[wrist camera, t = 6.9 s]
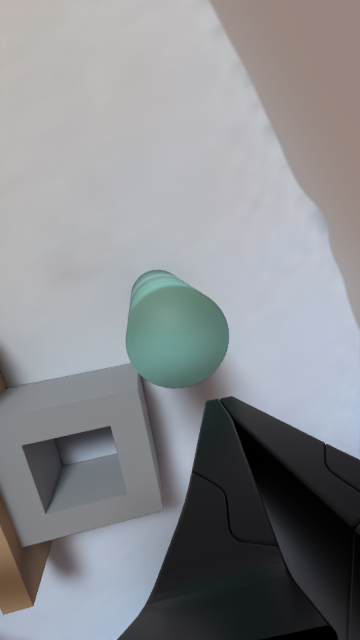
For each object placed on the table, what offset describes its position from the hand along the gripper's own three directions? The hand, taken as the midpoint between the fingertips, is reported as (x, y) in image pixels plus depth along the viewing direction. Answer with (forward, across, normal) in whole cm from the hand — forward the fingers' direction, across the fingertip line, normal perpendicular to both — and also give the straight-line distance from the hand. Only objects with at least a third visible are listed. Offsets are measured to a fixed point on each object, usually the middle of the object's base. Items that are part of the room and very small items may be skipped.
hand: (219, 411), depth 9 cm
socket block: (+13, +8, +9) cm, 18 cm away
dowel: (+14, +1, -1) cm, 14 cm away
